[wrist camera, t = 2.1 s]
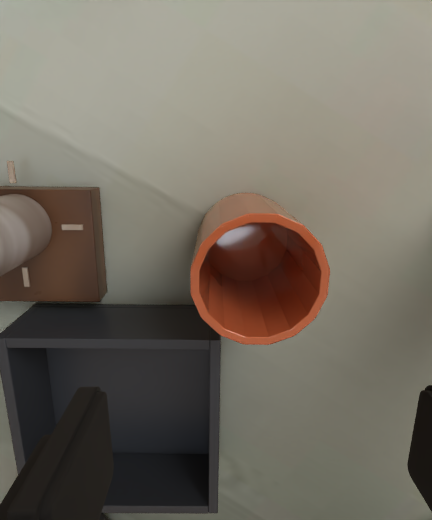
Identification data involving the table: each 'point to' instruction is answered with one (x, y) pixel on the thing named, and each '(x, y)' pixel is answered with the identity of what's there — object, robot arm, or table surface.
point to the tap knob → (21, 230)
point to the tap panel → (61, 248)
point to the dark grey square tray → (124, 395)
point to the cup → (257, 271)
